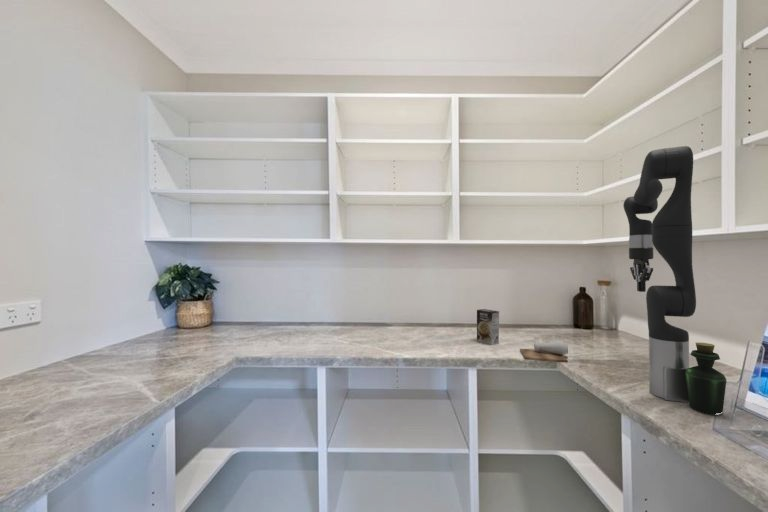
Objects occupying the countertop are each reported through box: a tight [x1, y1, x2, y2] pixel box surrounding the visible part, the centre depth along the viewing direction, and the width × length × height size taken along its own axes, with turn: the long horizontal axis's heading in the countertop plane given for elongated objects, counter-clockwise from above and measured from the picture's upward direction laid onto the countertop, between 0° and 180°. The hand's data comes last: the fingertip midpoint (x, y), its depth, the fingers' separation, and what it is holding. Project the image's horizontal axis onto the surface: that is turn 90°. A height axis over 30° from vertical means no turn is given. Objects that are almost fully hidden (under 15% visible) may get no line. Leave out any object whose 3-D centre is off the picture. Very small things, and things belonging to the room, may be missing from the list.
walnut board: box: [519, 348, 569, 363], centre depth 140 cm, size 16×14×1 cm
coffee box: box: [476, 308, 500, 346], centre depth 163 cm, size 9×6×16 cm
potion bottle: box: [685, 342, 727, 416], centre depth 90 cm, size 8×8×18 cm
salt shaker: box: [533, 340, 569, 356], centre depth 141 cm, size 6×6×13 cm
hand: (641, 291), depth 127 cm, fingers closed
